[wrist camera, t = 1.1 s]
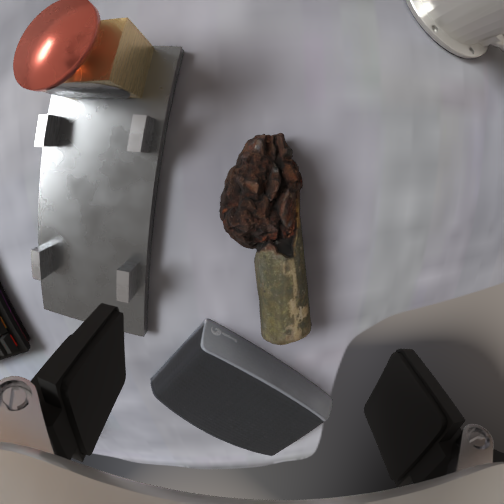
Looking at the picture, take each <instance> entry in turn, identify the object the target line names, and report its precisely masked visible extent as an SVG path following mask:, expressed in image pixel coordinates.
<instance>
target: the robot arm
mask: <svg viewBox="0 0 504 504" xmlns="http://www.w3.org/2000/svg"><path fill="white" fill-rule="evenodd" d="M406 2H407V4H408V7H409V8H410V10H411V12H412V14H413V16H414V17H415V18H416V20H417V21H418V23H419V24H420V25H421V26H422V28H423V29H424V30H425V31H426V32H427V33H428V34H429V35H430V36H431V37H432V38H433V39H434V40H435V41H436V42H437V43H438V44H440V45H441V46H442V47H443V48H445V49H446V50H448V51H449V52H451V53H453V54H455V55H457V56H460V57H463V58H469V59H472V58H476V57H479V56H481V55H483V54H484V53H485V52H486V51H487V48H488V45H490V44H492V45H493V46H495V47H500V48H501V50H502V51H503V52H504V37H503V36H504V0H406ZM125 378H126V370H125V351H124V315H123V313H122V312H119V308H118V307H116V306H112V305H108V304H105V303H101V304H100V305H99V306H98V307H97V308H96V309H95V310H94V311H93V312H92V313H91V315H90V316H89V317H88V318H87V319H86V320H85V321H84V322H83V323H82V324H81V326H80V327H79V328H78V329H77V330H76V331H75V332H74V333H73V334H72V335H70V336H69V337H68V338H67V339H66V340H65V341H64V342H63V343H62V344H61V346H60V347H59V348H58V349H57V350H56V351H55V353H54V354H53V355H52V356H51V357H50V358H49V360H48V361H47V362H46V363H45V364H44V366H43V367H42V368H41V369H40V370H39V372H38V373H37V374H36V375H35V376H34V378H33V379H32V380H31V381H29V380H27V379H25V378H22V377H19V376H10V377H6V378H3V379H1V380H0V504H504V453H501V452H499V451H497V450H494V449H493V439H492V437H491V435H490V433H489V432H488V431H487V430H486V429H484V428H483V427H481V426H479V425H475V424H470V425H467V426H466V427H465V428H464V429H463V430H461V429H460V427H461V425H462V424H463V423H464V422H465V419H464V417H463V416H462V415H461V413H460V412H459V410H458V409H457V407H456V406H455V405H454V403H453V402H452V401H451V399H450V398H449V396H448V395H447V394H446V392H445V391H444V390H443V388H442V387H441V386H440V384H439V383H438V381H437V380H436V379H435V377H434V376H433V375H432V373H431V372H430V371H429V369H428V368H427V367H426V366H425V364H424V363H423V362H422V360H421V359H420V358H419V357H418V355H417V354H416V353H415V351H414V350H412V349H398V350H397V351H396V352H395V353H393V354H392V355H391V357H390V359H389V361H388V363H387V366H386V367H385V369H384V371H383V373H382V375H381V377H380V379H379V381H378V383H377V385H376V386H375V388H374V390H373V392H372V394H371V396H370V397H369V399H368V401H367V403H366V404H365V407H364V413H365V416H366V418H367V421H368V423H369V426H370V428H371V430H372V432H373V435H374V438H375V440H376V443H377V445H378V447H379V450H380V453H381V455H382V458H383V460H384V463H385V465H386V468H387V470H388V473H389V475H390V478H391V479H392V480H394V482H395V484H396V487H399V488H394V489H390V490H384V491H379V492H373V493H367V494H361V495H353V496H345V497H336V498H325V499H309V500H253V499H238V498H226V497H217V496H209V495H202V494H195V493H188V492H183V491H178V490H172V489H168V488H163V487H158V486H154V485H149V484H146V483H142V482H138V481H133V480H130V479H126V478H123V477H119V476H116V475H113V474H109V473H106V472H103V471H100V470H97V469H94V468H92V467H89V466H86V465H83V464H79V463H77V462H74V461H71V458H74V459H76V460H79V461H81V462H83V460H84V458H85V455H91V454H92V452H93V450H94V448H95V445H96V443H97V441H98V439H99V436H100V434H101V432H102V430H103V427H104V425H105V423H106V421H107V419H108V417H109V414H110V412H111V410H112V408H113V406H114V404H115V402H116V399H117V397H118V395H119V393H120V391H121V389H122V387H123V385H124V382H125ZM412 481H413V483H414V484H412V485H408V484H410V483H411V482H412ZM405 485H408V486H405ZM400 486H403V487H400Z"/></svg>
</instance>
